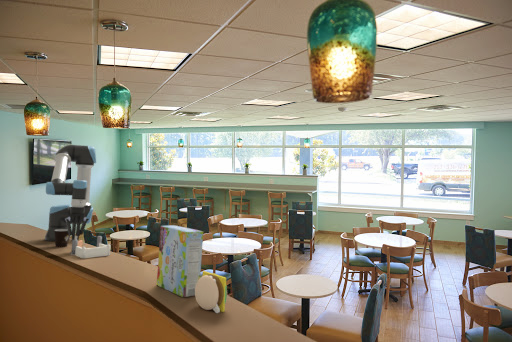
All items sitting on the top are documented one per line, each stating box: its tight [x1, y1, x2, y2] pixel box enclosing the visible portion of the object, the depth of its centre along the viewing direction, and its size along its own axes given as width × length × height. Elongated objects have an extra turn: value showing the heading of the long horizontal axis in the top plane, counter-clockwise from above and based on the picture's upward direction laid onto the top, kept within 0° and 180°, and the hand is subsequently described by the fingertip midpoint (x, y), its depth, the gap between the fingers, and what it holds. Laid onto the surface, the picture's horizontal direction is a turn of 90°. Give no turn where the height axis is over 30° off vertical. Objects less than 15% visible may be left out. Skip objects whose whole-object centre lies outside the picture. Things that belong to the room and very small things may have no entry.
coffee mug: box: [54, 229, 72, 248], centre depth 230 cm, size 12×9×10 cm
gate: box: [71, 239, 84, 253], centre depth 214 cm, size 13×3×7 cm, turn 9°
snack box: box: [156, 224, 204, 298], centre depth 154 cm, size 22×9×26 cm, turn 43°
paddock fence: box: [69, 235, 111, 259], centre depth 210 cm, size 15×17×9 cm
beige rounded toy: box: [194, 270, 228, 314], centre depth 134 cm, size 12×8×12 cm
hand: (74, 247), depth 215 cm, fingers closed
